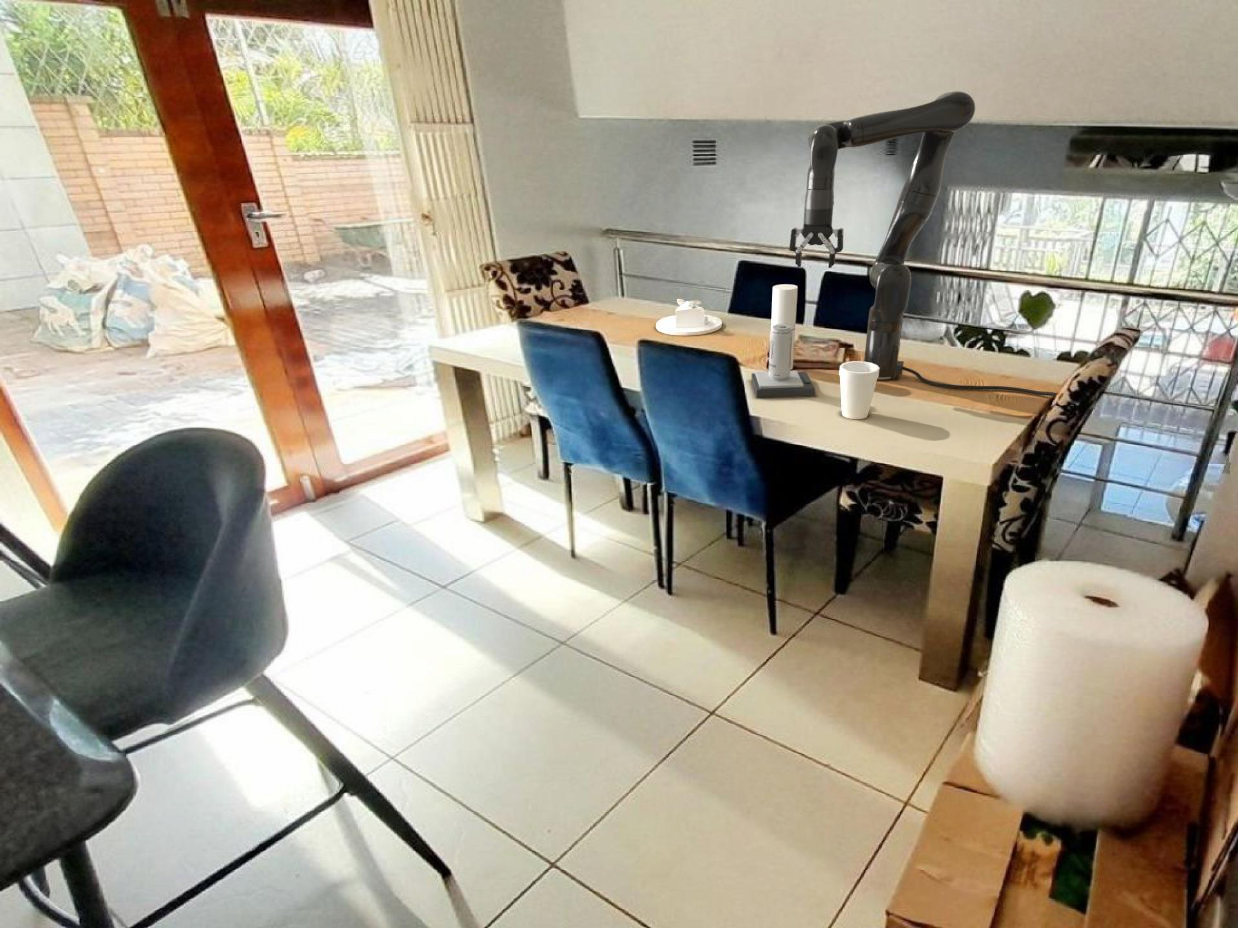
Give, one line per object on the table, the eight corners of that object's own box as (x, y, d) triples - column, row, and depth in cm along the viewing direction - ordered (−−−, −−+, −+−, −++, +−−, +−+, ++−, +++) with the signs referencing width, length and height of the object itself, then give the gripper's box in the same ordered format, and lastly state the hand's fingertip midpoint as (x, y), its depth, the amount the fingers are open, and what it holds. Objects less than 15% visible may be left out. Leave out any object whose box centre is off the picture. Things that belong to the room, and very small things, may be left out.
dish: (726, 333, 255) (726, 302, 250) (657, 337, 256) (656, 306, 251) (718, 316, 277) (718, 287, 272) (654, 319, 278) (653, 290, 273)
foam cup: (868, 424, 178) (873, 375, 172) (831, 418, 182) (835, 370, 176) (877, 410, 185) (882, 363, 179) (842, 405, 189) (846, 359, 184)
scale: (805, 379, 209) (806, 369, 207) (814, 396, 196) (815, 385, 195) (751, 380, 210) (751, 370, 209) (756, 398, 198) (756, 387, 196)
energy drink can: (766, 375, 205) (768, 324, 198) (786, 373, 205) (789, 323, 198) (771, 382, 199) (773, 330, 192) (792, 380, 199) (795, 329, 193)
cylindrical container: (793, 371, 216) (797, 289, 204) (769, 371, 217) (772, 290, 206) (792, 363, 222) (797, 284, 211) (769, 363, 223) (773, 284, 212)
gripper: (789, 208, 190) (786, 269, 197) (844, 208, 185) (838, 270, 192) (795, 204, 196) (791, 263, 203) (847, 204, 191) (842, 265, 198)
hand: (814, 267), depth 198 cm, fingers open, 8 cm apart
